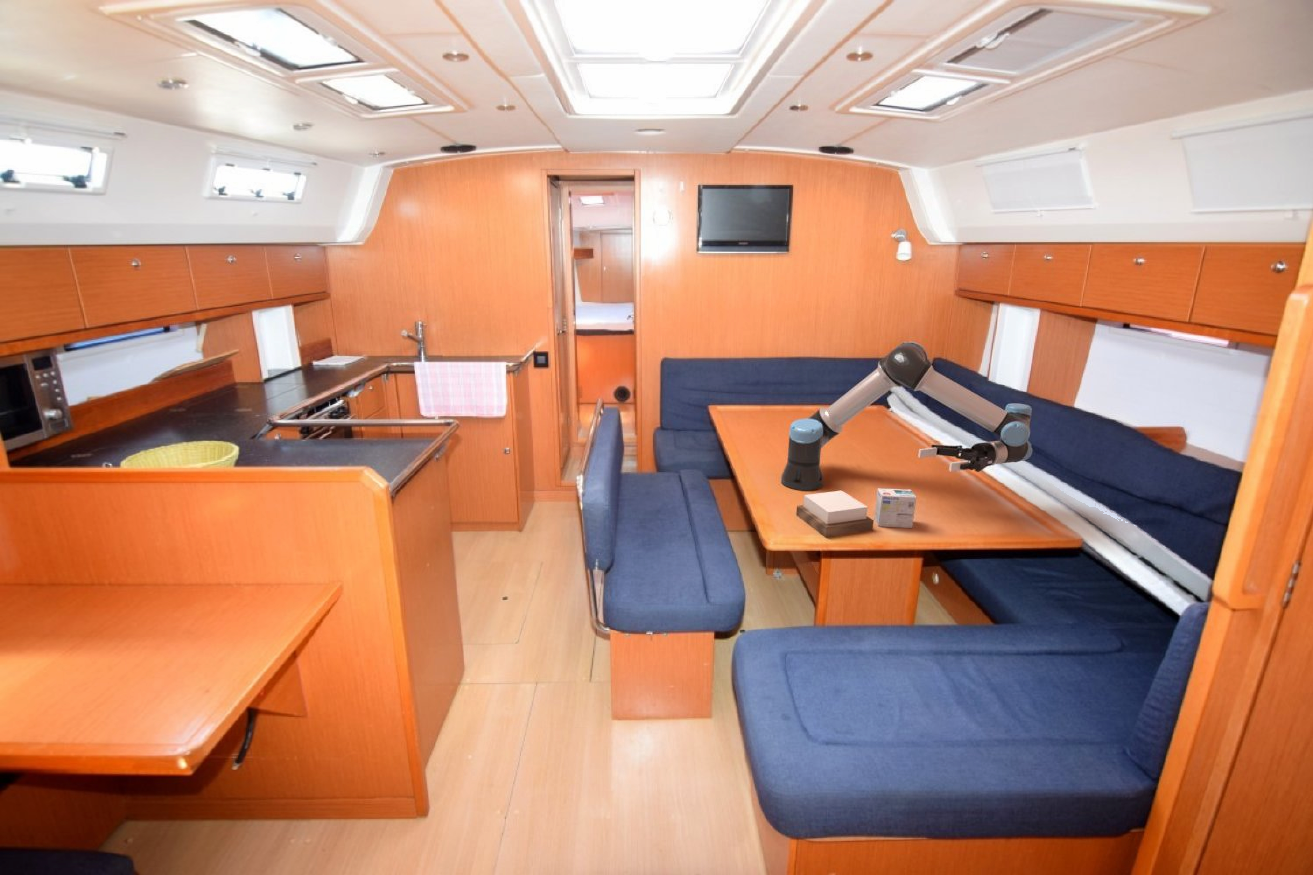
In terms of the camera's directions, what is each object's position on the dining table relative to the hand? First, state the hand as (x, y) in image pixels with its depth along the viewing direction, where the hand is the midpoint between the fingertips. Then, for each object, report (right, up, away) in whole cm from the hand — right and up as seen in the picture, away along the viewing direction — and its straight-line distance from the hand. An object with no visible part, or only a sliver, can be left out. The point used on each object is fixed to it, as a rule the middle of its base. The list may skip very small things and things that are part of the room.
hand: (934, 460), depth 194 cm
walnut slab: (-31, -21, +3) cm, 37 cm away
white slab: (-31, -17, +2) cm, 35 cm away
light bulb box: (-12, -21, +3) cm, 24 cm away
